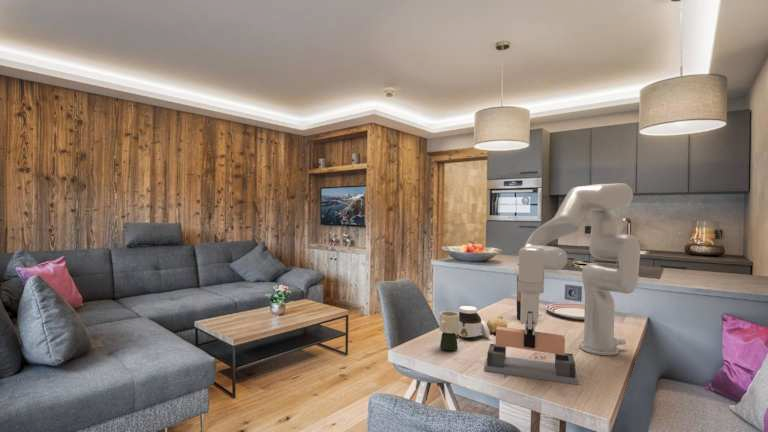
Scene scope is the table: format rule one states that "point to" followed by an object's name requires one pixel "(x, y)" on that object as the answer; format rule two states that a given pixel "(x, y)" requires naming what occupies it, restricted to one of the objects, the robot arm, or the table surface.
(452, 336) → the character mug
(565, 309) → the dinner plate
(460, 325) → the spread jar
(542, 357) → the table surface
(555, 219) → the robot arm
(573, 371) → the end caps
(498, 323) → the onion
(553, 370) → the board
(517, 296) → the travel mug
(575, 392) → the table surface
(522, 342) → the slat
